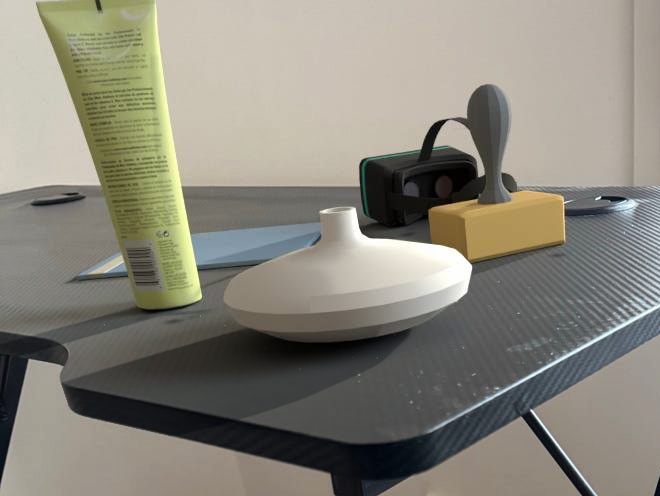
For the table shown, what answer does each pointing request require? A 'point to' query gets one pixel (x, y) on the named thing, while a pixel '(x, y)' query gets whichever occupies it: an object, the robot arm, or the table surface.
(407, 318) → the vase
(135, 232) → the tube
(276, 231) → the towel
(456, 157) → the virtual reality headset
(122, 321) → the table surface
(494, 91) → the rubber stamp
